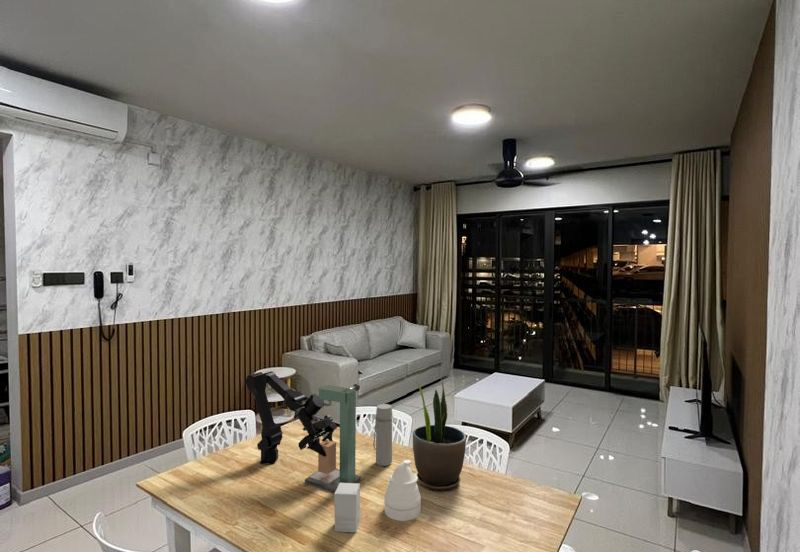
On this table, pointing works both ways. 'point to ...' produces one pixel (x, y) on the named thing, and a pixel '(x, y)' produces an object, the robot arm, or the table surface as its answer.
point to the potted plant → (438, 449)
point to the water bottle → (383, 434)
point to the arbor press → (346, 438)
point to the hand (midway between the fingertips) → (329, 453)
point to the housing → (327, 457)
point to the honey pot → (402, 494)
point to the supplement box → (347, 507)
